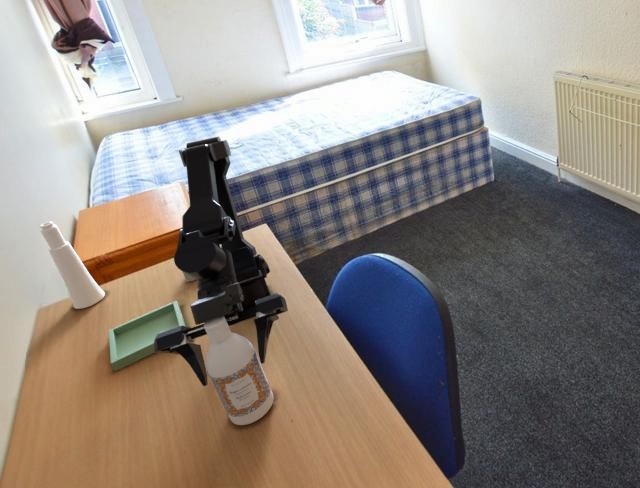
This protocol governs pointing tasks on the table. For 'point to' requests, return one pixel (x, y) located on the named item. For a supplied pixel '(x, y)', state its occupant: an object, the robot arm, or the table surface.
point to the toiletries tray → (141, 334)
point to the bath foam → (236, 373)
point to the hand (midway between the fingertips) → (234, 374)
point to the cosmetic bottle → (71, 269)
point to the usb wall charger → (188, 277)
